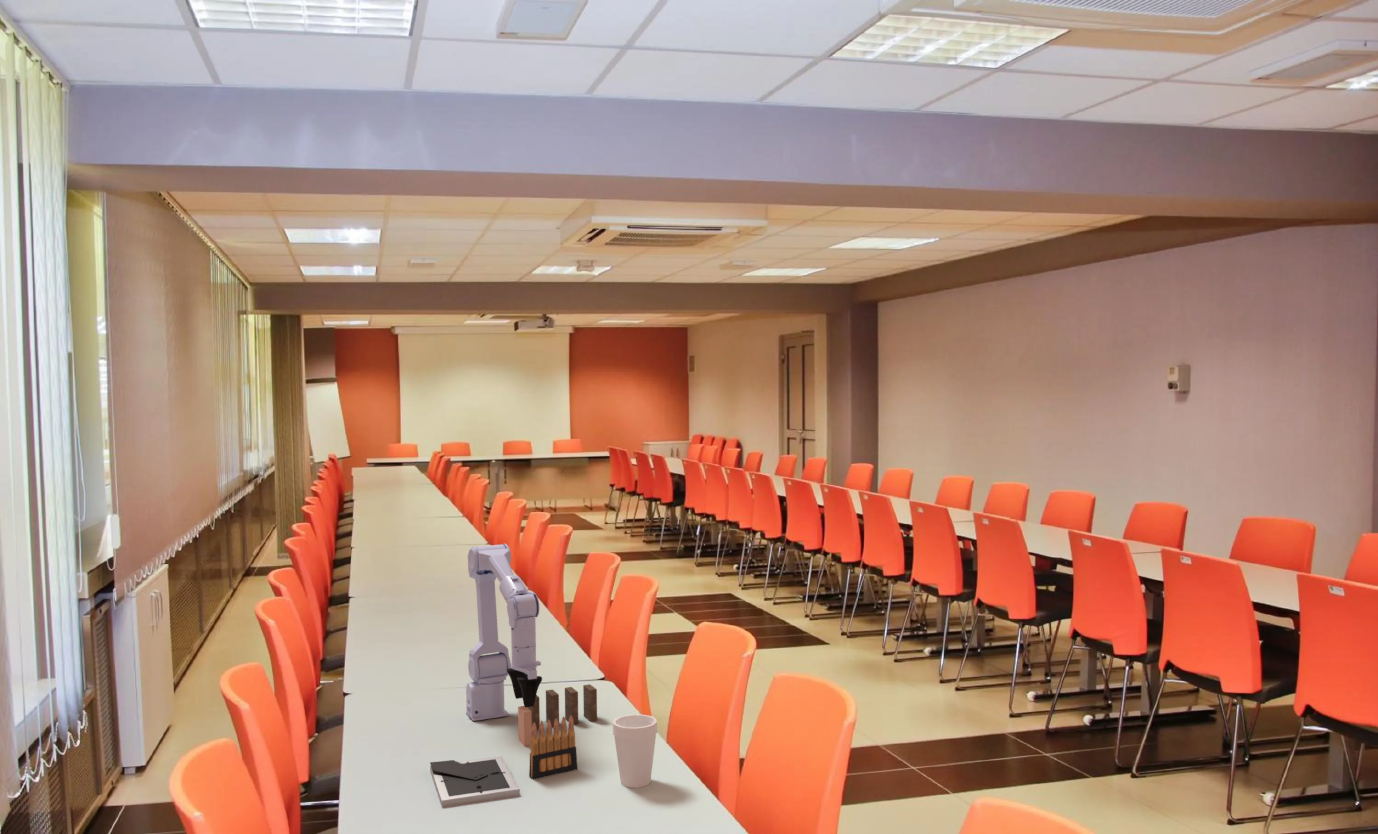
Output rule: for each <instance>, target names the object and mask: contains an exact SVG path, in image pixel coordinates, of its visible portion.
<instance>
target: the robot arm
mask: <svg viewBox="0 0 1378 834" xmlns="http://www.w3.org/2000/svg"><path fill="white" fill-rule="evenodd" d="M510 548H511V547H509V545H508V544H507V543H502V544H494V545H491V544H490V545H482V546H480V545H479V546H471V547H470V548H469V550H468V553H467V567H468V569H467V571H468V574H469V578H471V579H474V580H475V581H474V582H475V588H476V607H477V622H478V625H477V626H478V639H479V640H478V641H479V642H478V643H476V645H475V646H473V648H471V649H470V651H469V653H468V654H469V655H468V656H469V657H468V664H467V668H468V674H469V675H468V676H469V677H470V679H471V680H472V682H468V683H467V684H466V686H465V688H466V690H465V694H466V695H465V696H466V699H465V703H466V711H465V713H466V714H467V716H468V717H469V718H470V720H471V721H473V722H474V721H482V720H483V721H484V720H487V719H488V720H489V719H495V718H502V717H508V716H510V713H509V712H508V711H507V710H506V709H505V680H506V681H507V677H508V676H509V678H510V681H511V684H512V688H513V693H514V694H513V695H514V698H515V699H516V700H519V699H522V701H523V706H525V707H532V706H534V703H535V698H536V695H537V692H538V689H539V687H540V684H541V683H542V681H543V677H542V676H541V675H538V670H537V667H538V666H541V665H542V662H541V661H540V660H537V642H536V641H537V639H536V638H537V637H536V634H537V633H536V632H537V630H536V629H537V628H536V618H538V616H539V614H540V600H539V597H538V596H537V594H536V593H535V592H532V591H529V590H528V589H527V587H526V586H525V583H524V582H523V580H522V579H521V578H522V577H520V576H518V575H515V574H514V572H513V570H512V567H511V562H512V552H511V549H510ZM496 580H498V582H499V587H498V589H499V592H500V594H501V595H502V598H503V599H504V601H505V603H506V604H507V605H506V610H507V611H506V613H507V615H508V624H509V627H510V628H511V629H510V636H511V638H510V639H511V641H510V642H511V657H510V654H509V648H508V646H506V645H505V644H503V643H502V642H500V641H499V631H498V629H499V628H498V615H497V597H496V584H495V583H496V582H495V581H496ZM510 658H511V659H510Z"/></svg>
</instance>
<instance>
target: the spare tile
mask: <svg viewBox="0 0 1378 834" xmlns="http://www.w3.org/2000/svg"><path fill="white" fill-rule="evenodd" d="M517 717H518V719H517V721H518V722H517V726H518V729H517V730H518V732H517V733H518V735H517V736H518V741H519V742H520V743H521V745H523V747H528V746H530V747H531V735H532V721H531V711H530V710H529V709H528V708H527V707H525V706H524V705H520V706H518V707H517Z"/></svg>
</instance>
